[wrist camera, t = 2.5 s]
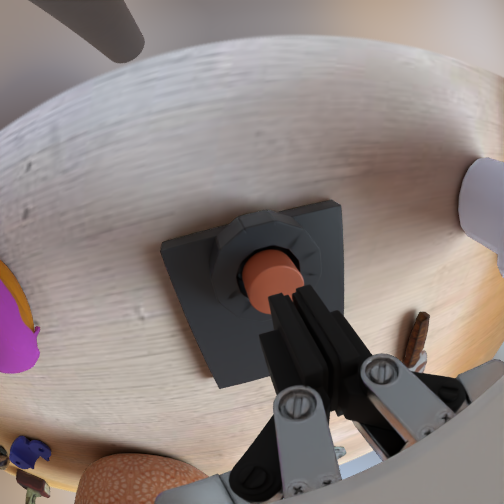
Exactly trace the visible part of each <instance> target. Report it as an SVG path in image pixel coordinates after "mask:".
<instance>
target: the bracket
mask: <svg viewBox="0 0 504 504" xmlns="http://www.w3.org/2000/svg"><path fill="white" fill-rule="evenodd" d="M40 448H42V449H40ZM40 456H41V457H42V458H44V459H45V460H47V461H49V457H50V456H51V449H50V448H49V447H48V446H47V445H45V444H44V443H43V442H41V441H38V440H32V441H29V440H28V439H27V438H25V437H24V436H19V437H17V438H16V439H15V441H14V442H13V444H12V446H11V449H10V456H9V459H10V461H11V462H12V463H13V464H15V465H16V466H17V467H19V468H21V469H28V468H32V469H34V465H35V462H36V460H37V459H38V458H39V457H40Z"/></svg>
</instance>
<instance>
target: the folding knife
mask: <svg viewBox="0 0 504 504" xmlns="http://www.w3.org/2000/svg"><path fill="white" fill-rule="evenodd" d="M0 453H2V454H4V455H6V453H7V452H6V451H5V450H4V449H3V448H2V447H1V446H0Z"/></svg>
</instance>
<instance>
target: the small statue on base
mask: <svg viewBox="0 0 504 504" xmlns="http://www.w3.org/2000/svg"><path fill="white" fill-rule="evenodd" d="M16 480H17V482H18V483H19V484H20V485H21V486H22V487H23V488H25V489H26V490H27V494H26V504H35V499H36V497H41V496H44V497H47V498H49V497H50V487H49V486H48V485H47V483H46V482H45V481H44V480H43V479H41V478H38V477H36V476H33V475H31V474H29V473H26V472H24V471H22V470H20V469H17V474H16Z"/></svg>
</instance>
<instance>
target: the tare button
mask: <svg viewBox="0 0 504 504" xmlns="http://www.w3.org/2000/svg"><path fill="white" fill-rule="evenodd" d="M242 280H243V283H244V286H245V289H246V292H247V295H248V298H249V301H250V303H251V305H252V306H253V307H254V308H255V309H256V310H258V311H260V312H262V313H265V314H271V311H270V306H269V301H268V296H271V295H275V294H278V293H283V295H284V296H285V295H289V296H290V298H291V300H292V293H295V292H296V288H299V287H302V286H304V280H303V277H302V275H301V273H300V272H299V271H298V269H297V268H296V266H295V265H294V264H293V262H292V261H291V259H290V258H289V257H288V256H287V255H286V254H285V253H283V252H281V251H279V250H273V249H269V250H263V251H260V252H258V253H256V254H254V255H253V256H252V257H251V258H250V259H249V260H248V261H247V262H246V264H245V266H244V268H243V271H242ZM292 302H293V301H292Z"/></svg>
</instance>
